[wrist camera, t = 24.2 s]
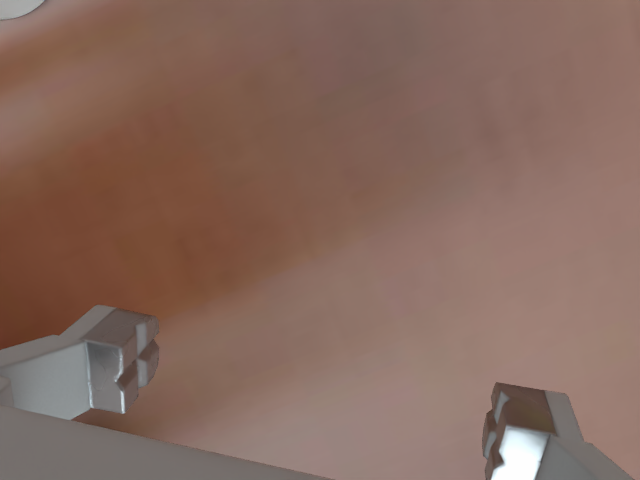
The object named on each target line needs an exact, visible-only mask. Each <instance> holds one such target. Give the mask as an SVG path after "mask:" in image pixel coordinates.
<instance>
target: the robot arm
mask: <svg viewBox="0 0 640 480" xmlns="http://www.w3.org/2000/svg"><path fill="white" fill-rule="evenodd" d="M44 1H45V0H0V20H5V19H13V18H17V17H20V16H23V15H25V14H27V13H29V12H31V11H33V10H34V9H35V8H37V7H38V6H39V5H40V4H42V3H43V2H44ZM158 333H159V324H158V319H157V318H156V317H155V316H152V315H148V314H143V313H138V312H134V311H129V310H124V309H120V308H119V309H118V308H115V307H110V306H104V305H95V306H94V307H93V308H92V309H91V310H89V311H88V312H87V313H86V314H85V315H83V316H82V317H81V318H80V319H79V320H77V321H76V322H75V323H74V324H73V325H71V326H70V327H69V328H68V329H67V330H65V331H64V332H63V333H62V334H61V335H59V336H57V335H50V336H47V337H43V338H40V339H37V340H33V341H30V342H26V343H23V344H19V345H16V346H12V347H9V348H5V349H2V350H0V480H334V479H330V478H325V477H321V476H316V475H312V474H307V473H303V472H298V471H294V470H290V469H285V468H281V467H276V466H272V465H267V464H263V463H258V462H254V461H249V460H245V459H241V458H236V457H232V456H227V455H223V454H218V453H214V452H209V451H205V450H200V449H196V448H192V447H187V446H183V445H178V444H174V443H169V442H165V441H160V440H156V439H151V438H147V437H142V436H138V435H134V434H129V433H125V432H120V431H116V430H111V429H107V428H102V427H98V426H93V425H89V424H85V423H80V422H76V421H71V419H73V418H74V417H76V416H78V415H80V414H82V413H84V412H86V411H88V410H89V409H90V408H96V409H101V410H106V411H112V412H117V413H122V414H125V412H126V411H127V410H128V409H129V407H130V406H131V405H132V404H133V402H134V401H135V400H136V399H137V397H138V388H141V387H143V386H146V385H148V383H149V382H150V381H151V379H152V378H153V376H154V374H155V371H156V369H157V366H158V361H159V347H158V345H157V344H156V342H155V341H154V339H153V338H154V337H155V336H156V335H157V334H158ZM491 401H492V408H493V409H492V410H491V411H489V412H488V413H487V415H486V419H485V423H484V429H483V437H482V449H483V456H484V457H485V458H486V459H487V463H486V467H485V477H486V480H634V479H633V478H632V477H630V476H629V475H628V474H627V473H626V472H625V471H623V470H622V469H621V468H620V467H619V466H617V465H616V464H615V463H614V462H613V461H612V460H610V459H609V458H608V457H607V456H606V455H604V454H603V453H602V452H601V451H600V450H599V449H597V448H596V447H595V446H594V445H593V444H591V443H587V442H584V439H583V436H582V433H581V431H580V428H579V425H578V422H577V420H576V417H575V414H574V411H573V409H572V406H571V403H570V400H569V397H568V396H567V395H566V394H565V393H560V392H553V391H547V390H539V389H533V388H527V387H521V386H515V385H510V384H504V383H498V382H496V384H495V386H494V388H493V392H492V395H491Z"/></svg>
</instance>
